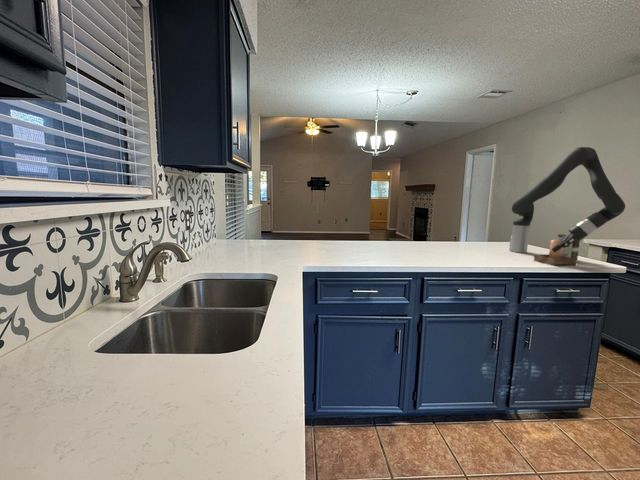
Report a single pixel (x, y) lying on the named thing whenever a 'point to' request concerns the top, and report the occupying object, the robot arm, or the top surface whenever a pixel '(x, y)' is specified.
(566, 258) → the walnut tray
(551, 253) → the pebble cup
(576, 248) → the coffee can
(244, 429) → the top surface
